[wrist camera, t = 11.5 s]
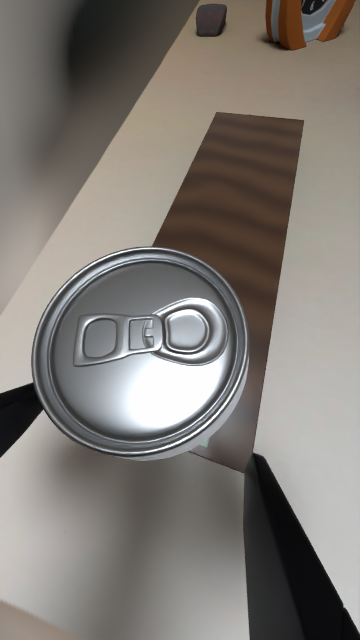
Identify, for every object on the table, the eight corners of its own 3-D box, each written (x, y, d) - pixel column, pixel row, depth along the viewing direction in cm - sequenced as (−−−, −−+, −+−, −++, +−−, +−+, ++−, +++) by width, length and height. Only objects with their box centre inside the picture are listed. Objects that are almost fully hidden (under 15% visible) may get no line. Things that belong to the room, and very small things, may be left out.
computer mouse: (193, 36, 57) (193, 11, 54) (202, 20, 63) (203, -4, 59) (221, 36, 56) (223, 10, 53) (228, 20, 61) (230, -4, 58)
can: (220, 421, 15) (306, 469, 4) (134, 429, 15) (-25, 499, 4) (208, 339, 17) (238, 225, 6) (135, 346, 17) (40, 246, 6)
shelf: (238, 462, 17) (250, 476, 13) (93, 406, 19) (72, 407, 16) (293, 146, 34) (305, 118, 31) (214, 137, 36) (216, 110, 33)
